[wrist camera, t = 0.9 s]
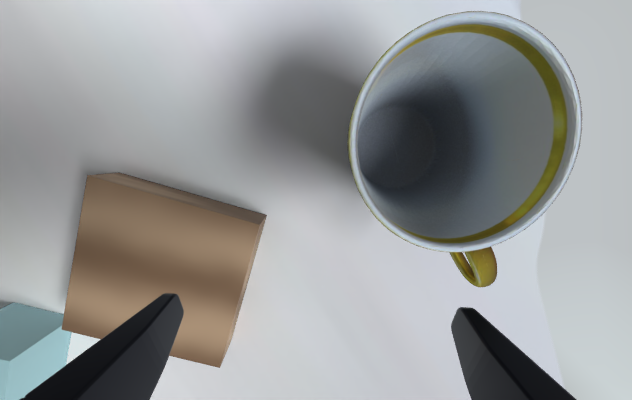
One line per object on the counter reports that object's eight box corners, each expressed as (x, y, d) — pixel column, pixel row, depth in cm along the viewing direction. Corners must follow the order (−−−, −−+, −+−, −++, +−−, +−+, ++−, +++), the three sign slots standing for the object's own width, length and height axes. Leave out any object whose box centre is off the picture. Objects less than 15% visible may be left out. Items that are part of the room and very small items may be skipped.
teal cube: (66, 365, 23) (1, 421, 18) (8, 352, 23) (-75, 405, 18) (75, 316, 23) (9, 361, 18) (14, 301, 22) (-70, 343, 17)
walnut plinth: (231, 340, 23) (219, 367, 20) (94, 306, 22) (61, 329, 19) (266, 215, 21) (259, 224, 18) (119, 172, 20) (87, 175, 18)
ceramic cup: (313, 106, 20) (318, 58, 10) (437, 63, 20) (564, -28, 10) (361, 256, 22) (403, 336, 12) (473, 220, 22) (608, 272, 12)
